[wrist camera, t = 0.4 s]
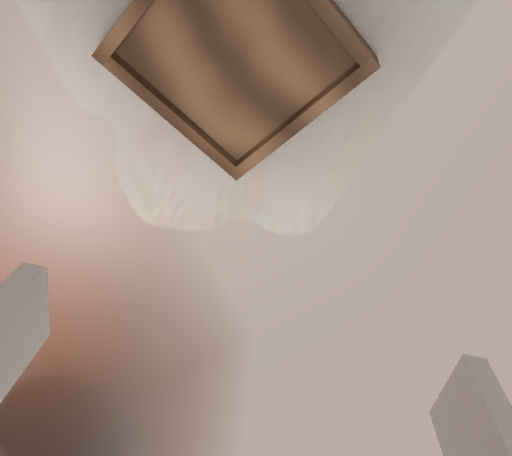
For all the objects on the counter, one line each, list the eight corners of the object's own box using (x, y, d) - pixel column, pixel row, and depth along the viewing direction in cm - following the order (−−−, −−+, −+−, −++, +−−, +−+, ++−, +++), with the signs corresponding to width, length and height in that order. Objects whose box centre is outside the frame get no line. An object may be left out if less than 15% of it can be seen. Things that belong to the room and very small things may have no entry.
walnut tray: (232, -129, 26) (227, -126, 25) (376, 55, 33) (380, 67, 31) (101, 45, 34) (91, 55, 32) (239, 166, 40) (236, 180, 39)
